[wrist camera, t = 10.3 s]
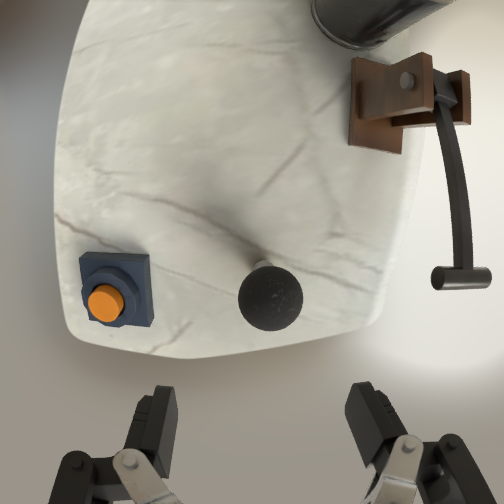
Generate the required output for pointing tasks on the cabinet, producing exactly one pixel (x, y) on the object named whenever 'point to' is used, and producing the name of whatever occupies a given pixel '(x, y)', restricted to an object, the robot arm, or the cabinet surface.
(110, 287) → the button
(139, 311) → the dimmer box
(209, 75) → the cabinet surface
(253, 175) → the cabinet surface
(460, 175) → the switch lever
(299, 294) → the light bulb
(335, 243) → the cabinet surface
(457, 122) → the switch bracket
